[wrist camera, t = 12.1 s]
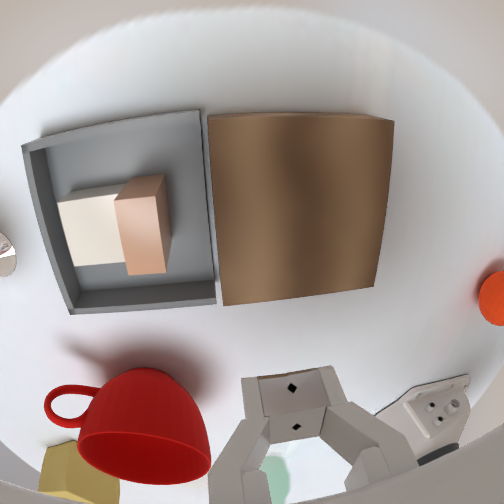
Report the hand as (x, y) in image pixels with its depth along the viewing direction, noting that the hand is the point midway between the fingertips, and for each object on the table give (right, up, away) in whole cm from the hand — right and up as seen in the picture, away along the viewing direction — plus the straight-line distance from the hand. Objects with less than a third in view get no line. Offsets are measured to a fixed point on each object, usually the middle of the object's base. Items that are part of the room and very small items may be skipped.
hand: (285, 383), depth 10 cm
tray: (-11, +7, +13) cm, 18 cm away
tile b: (-7, +6, +11) cm, 14 cm away
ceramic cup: (-14, -10, +22) cm, 28 cm away
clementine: (+30, 0, +24) cm, 38 cm away
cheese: (-30, -31, +31) cm, 53 cm away
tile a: (-12, +6, +10) cm, 17 cm away
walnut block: (+2, +8, +14) cm, 17 cm away
